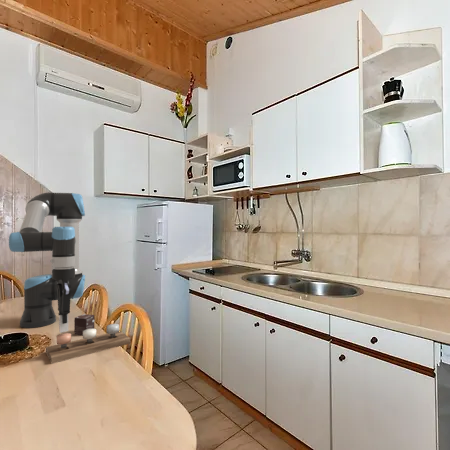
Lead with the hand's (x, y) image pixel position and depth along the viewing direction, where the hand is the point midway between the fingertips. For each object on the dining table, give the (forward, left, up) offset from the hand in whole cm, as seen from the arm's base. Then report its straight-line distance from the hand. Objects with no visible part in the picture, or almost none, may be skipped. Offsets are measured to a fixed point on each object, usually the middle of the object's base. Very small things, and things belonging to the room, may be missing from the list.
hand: (63, 331), depth 111 cm
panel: (0, +9, -9) cm, 12 cm away
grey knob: (0, +18, -6) cm, 19 cm away
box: (-20, +12, -9) cm, 25 cm away
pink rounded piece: (0, 0, -6) cm, 6 cm away
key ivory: (0, +9, -6) cm, 11 cm away
